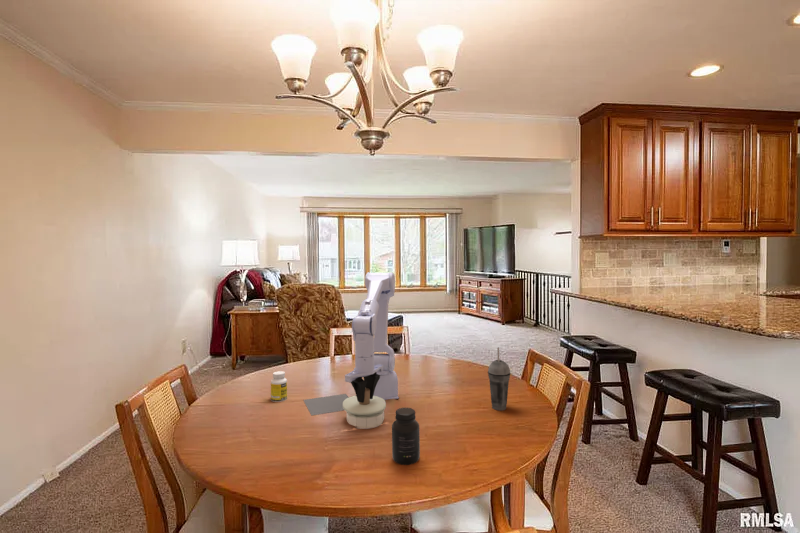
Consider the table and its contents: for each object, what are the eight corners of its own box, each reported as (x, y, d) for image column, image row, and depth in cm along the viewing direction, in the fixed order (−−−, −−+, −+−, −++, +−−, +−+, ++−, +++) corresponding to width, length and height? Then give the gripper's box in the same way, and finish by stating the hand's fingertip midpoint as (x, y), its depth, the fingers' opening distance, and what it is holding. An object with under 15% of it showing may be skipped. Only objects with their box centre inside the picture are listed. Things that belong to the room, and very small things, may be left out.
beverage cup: (512, 405, 135) (512, 345, 135) (508, 413, 129) (508, 350, 128) (490, 402, 138) (490, 343, 138) (485, 410, 132) (485, 348, 131)
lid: (364, 394, 134) (365, 379, 133) (394, 406, 125) (395, 390, 125) (333, 406, 124) (334, 389, 124) (363, 419, 115) (364, 401, 115)
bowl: (376, 411, 132) (376, 402, 131) (389, 424, 121) (388, 414, 121) (343, 417, 127) (342, 407, 127) (353, 431, 117) (353, 420, 117)
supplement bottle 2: (391, 452, 104) (390, 406, 104) (417, 451, 105) (417, 405, 105) (393, 466, 97) (392, 416, 97) (421, 465, 98) (421, 415, 98)
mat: (345, 395, 147) (345, 393, 147) (357, 409, 133) (357, 407, 133) (303, 401, 141) (303, 399, 141) (311, 417, 128) (311, 415, 127)
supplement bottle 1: (282, 404, 139) (282, 375, 139) (268, 403, 140) (267, 374, 140) (290, 398, 145) (289, 370, 144) (275, 397, 146) (275, 370, 145)
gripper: (371, 349, 132) (372, 390, 132) (337, 358, 121) (338, 403, 121) (388, 352, 127) (388, 395, 128) (354, 362, 116) (354, 409, 117)
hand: (365, 400), depth 124 cm, fingers closed on lid, 3 cm apart
